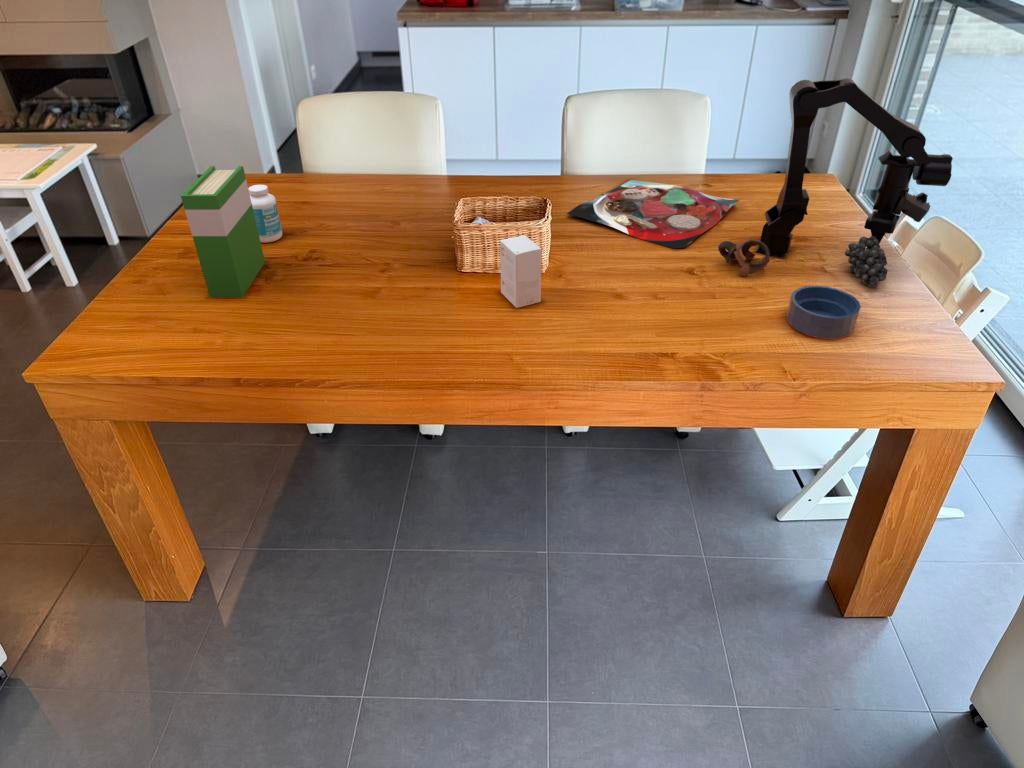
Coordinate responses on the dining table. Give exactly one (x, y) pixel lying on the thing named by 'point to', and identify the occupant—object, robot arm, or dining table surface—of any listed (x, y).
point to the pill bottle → (265, 213)
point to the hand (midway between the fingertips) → (875, 245)
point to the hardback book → (224, 231)
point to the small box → (520, 270)
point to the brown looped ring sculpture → (744, 255)
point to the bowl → (823, 312)
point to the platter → (656, 212)
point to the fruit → (867, 261)
